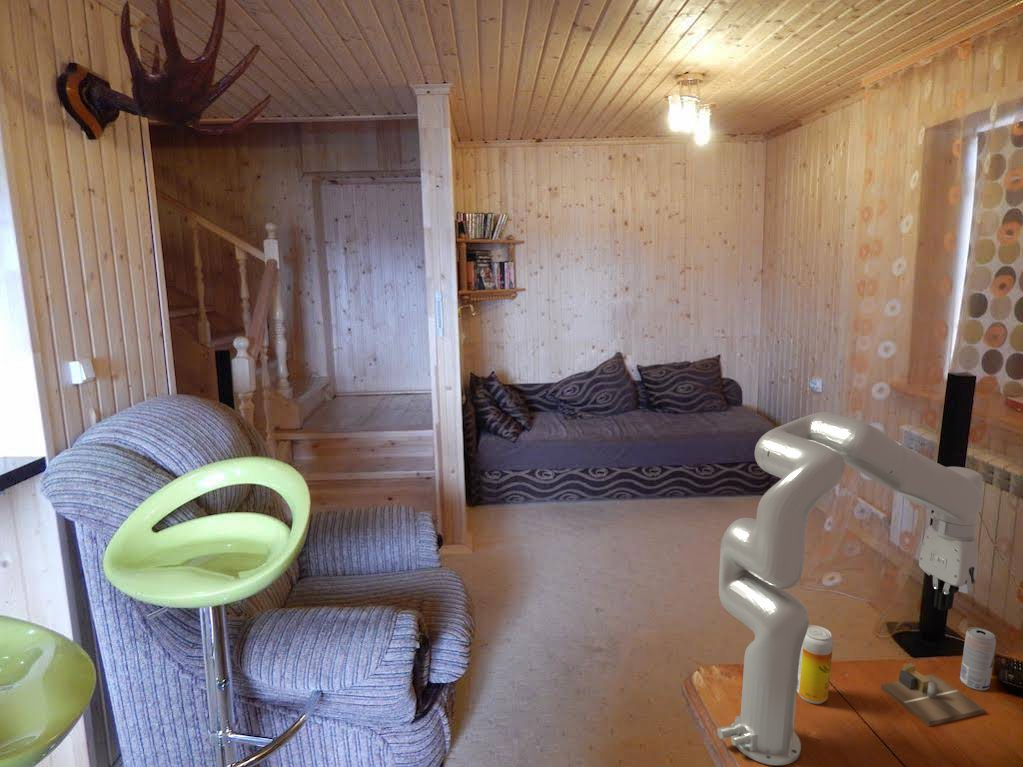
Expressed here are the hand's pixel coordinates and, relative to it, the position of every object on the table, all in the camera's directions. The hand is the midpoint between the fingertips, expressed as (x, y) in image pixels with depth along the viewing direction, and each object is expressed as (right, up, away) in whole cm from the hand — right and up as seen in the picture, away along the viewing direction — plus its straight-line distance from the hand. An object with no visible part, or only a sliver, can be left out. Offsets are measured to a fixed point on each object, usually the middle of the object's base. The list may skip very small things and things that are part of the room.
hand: (942, 607), depth 140 cm
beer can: (-28, -19, 0) cm, 34 cm away
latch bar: (-5, -17, +2) cm, 18 cm away
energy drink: (+10, -18, +4) cm, 21 cm away
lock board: (-3, -19, -1) cm, 19 cm away
